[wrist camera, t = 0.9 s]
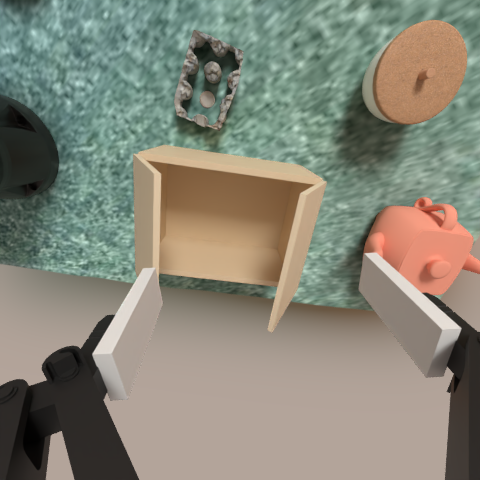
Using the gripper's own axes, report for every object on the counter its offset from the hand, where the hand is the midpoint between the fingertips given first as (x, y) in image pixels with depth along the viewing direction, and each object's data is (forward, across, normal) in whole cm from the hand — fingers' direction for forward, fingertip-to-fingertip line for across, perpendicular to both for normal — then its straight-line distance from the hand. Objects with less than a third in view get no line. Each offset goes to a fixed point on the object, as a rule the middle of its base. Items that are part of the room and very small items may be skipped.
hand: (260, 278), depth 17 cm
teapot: (+29, +27, -12) cm, 42 cm away
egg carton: (+30, -4, +14) cm, 34 cm away
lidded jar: (+30, +22, +13) cm, 39 cm away
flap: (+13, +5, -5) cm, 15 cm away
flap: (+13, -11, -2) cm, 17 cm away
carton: (+30, -3, -4) cm, 30 cm away
